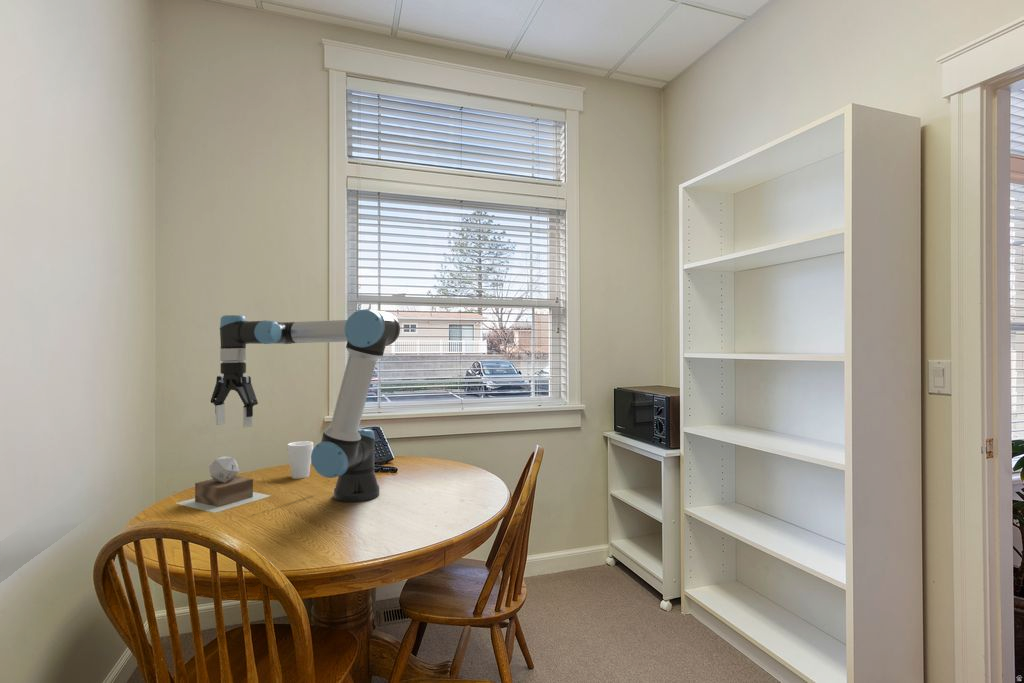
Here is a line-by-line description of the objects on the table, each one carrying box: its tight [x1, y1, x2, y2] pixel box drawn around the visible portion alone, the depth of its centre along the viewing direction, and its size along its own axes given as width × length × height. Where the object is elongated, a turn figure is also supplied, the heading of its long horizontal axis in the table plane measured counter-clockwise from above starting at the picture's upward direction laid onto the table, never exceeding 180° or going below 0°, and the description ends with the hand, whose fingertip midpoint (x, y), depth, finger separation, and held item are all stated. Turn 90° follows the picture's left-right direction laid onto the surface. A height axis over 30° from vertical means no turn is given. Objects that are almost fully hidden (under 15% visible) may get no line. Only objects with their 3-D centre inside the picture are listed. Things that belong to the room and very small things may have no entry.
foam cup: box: [287, 440, 314, 480], centre depth 205 cm, size 10×9×13 cm
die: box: [208, 455, 240, 483], centre depth 172 cm, size 8×9×10 cm
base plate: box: [174, 491, 271, 514], centre depth 172 cm, size 20×20×1 cm
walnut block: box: [194, 475, 254, 507], centre depth 172 cm, size 12×12×6 cm
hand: (233, 425), depth 173 cm, fingers open, 13 cm apart
